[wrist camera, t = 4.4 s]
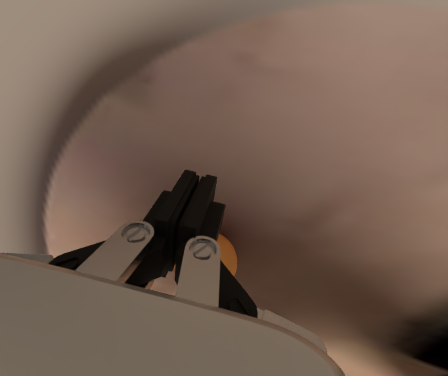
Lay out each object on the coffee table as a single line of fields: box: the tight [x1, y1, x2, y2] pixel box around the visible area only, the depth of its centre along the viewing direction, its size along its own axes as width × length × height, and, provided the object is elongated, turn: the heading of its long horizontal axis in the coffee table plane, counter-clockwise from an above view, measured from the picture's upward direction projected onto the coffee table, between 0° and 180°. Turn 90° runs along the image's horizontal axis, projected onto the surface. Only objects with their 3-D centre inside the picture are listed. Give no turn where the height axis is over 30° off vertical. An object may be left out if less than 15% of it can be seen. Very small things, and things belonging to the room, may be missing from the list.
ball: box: [174, 234, 237, 276], centre depth 22 cm, size 6×6×6 cm
